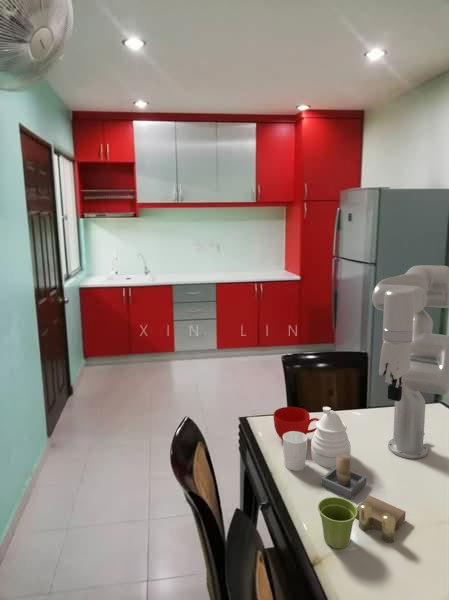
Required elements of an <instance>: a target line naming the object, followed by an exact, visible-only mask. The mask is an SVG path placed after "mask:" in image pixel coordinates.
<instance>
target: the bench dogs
mask: <svg viewBox="0 0 449 600" xmlns="http://www.w3.org/2000/svg"><path fill="white" fill-rule="evenodd" d="M362 502H363V501H362ZM362 502H360V503H359V505H358V506H359V520H358V528H359V530H361V531H363V532H369V531H371V530H372V526H371V516H372V506H371V505H370V504H369V503H365V502H363V503H362ZM380 532H381V535H380V536H381V540H382V541H383V542H384V543H387V544H392V543H394V542H395V533H396V532H395V516H394V515H392V514H390V513H384V514H382V530H381V531H380ZM394 532H395V533H394Z"/></svg>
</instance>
